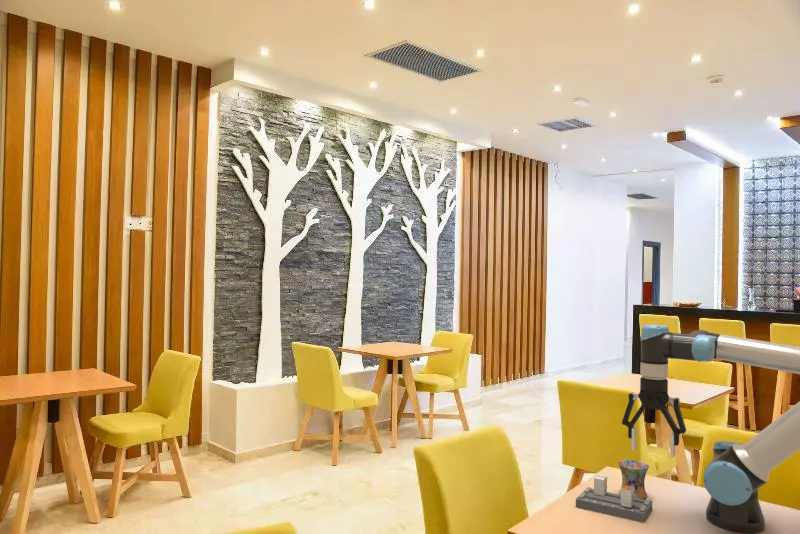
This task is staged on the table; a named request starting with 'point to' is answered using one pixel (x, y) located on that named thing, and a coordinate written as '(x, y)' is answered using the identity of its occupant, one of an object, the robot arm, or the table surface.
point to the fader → (627, 496)
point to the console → (612, 502)
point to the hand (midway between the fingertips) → (653, 452)
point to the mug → (634, 476)
